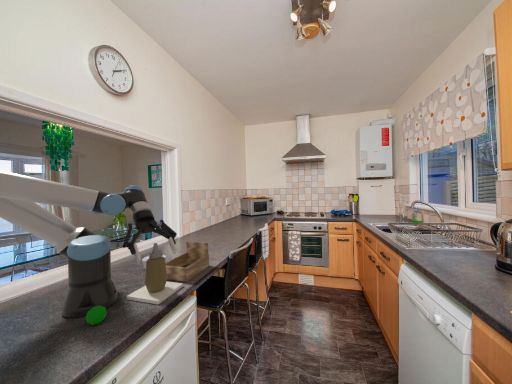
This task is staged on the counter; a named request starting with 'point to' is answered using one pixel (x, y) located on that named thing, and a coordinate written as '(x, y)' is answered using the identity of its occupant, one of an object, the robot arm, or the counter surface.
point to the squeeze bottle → (155, 271)
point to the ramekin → (147, 259)
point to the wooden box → (188, 262)
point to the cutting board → (155, 293)
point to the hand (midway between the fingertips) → (158, 256)
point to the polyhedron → (96, 315)
